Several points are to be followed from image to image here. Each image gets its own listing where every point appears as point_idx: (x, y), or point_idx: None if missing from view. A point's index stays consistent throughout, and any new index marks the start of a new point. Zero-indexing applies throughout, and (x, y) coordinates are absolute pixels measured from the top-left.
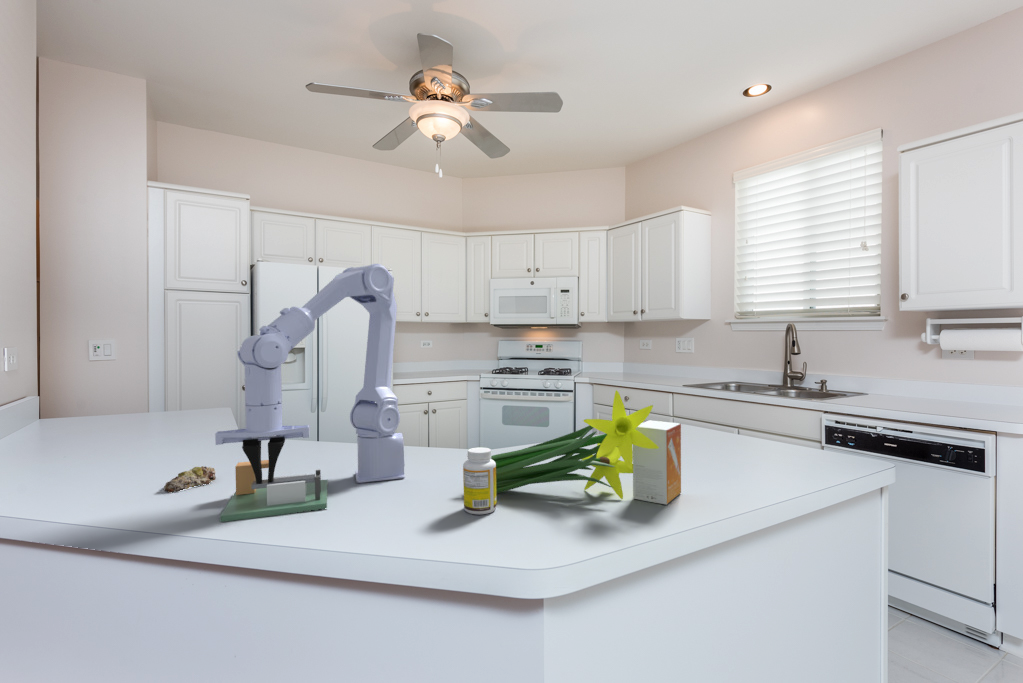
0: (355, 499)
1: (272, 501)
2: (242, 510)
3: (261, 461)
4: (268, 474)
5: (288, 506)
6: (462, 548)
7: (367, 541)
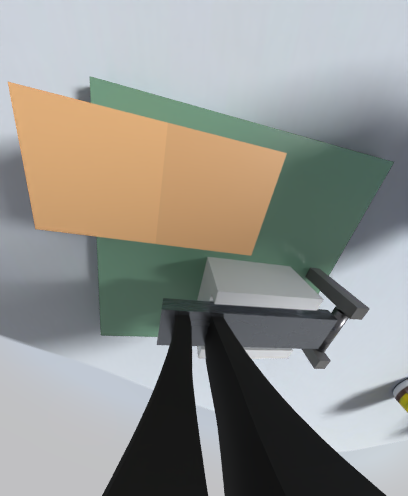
0: None
1: None
2: (143, 322)
3: (203, 170)
4: (209, 375)
5: None
6: (326, 433)
7: None
